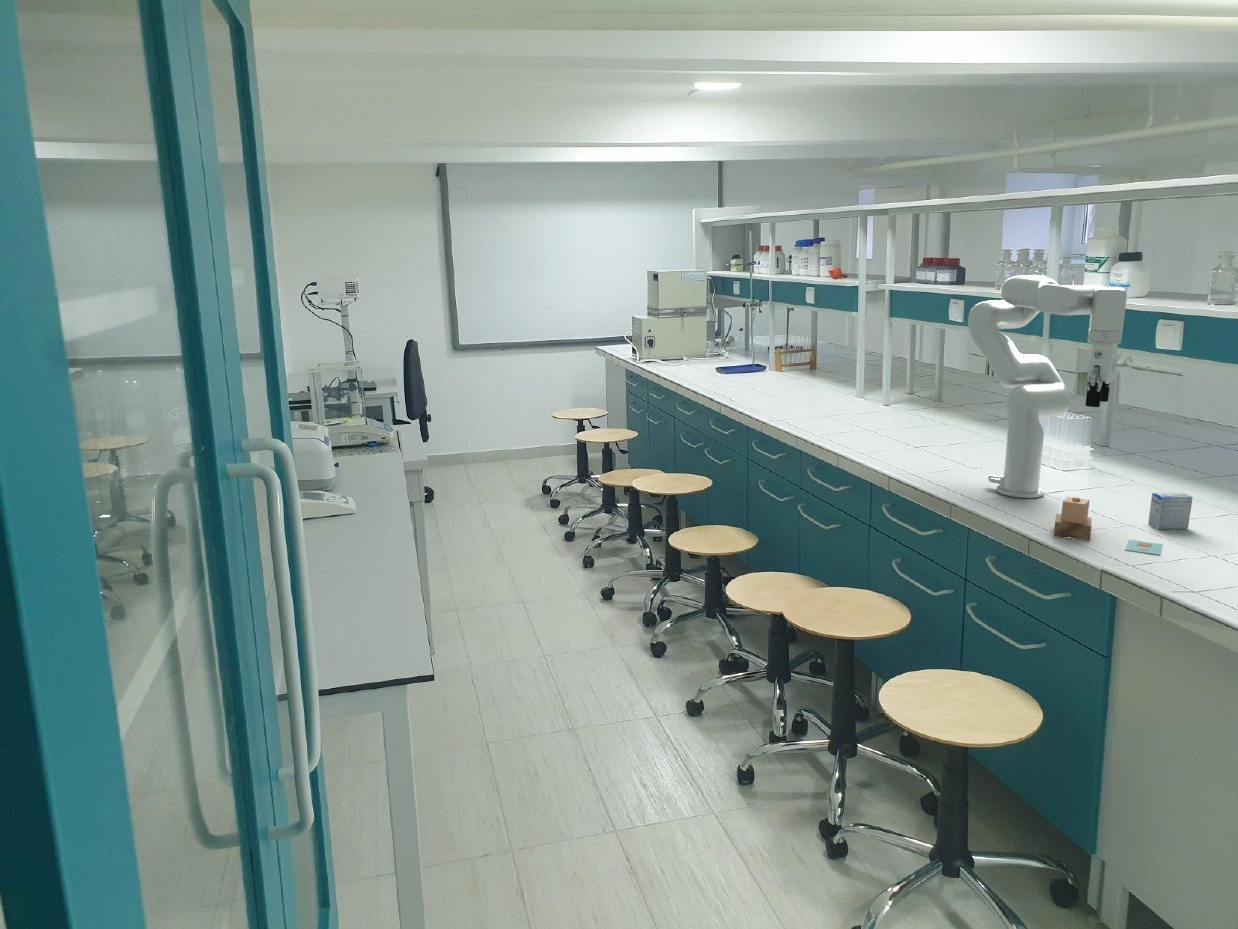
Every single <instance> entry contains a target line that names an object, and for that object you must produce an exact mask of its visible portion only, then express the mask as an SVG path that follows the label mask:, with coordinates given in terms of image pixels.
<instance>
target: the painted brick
mask: <svg viewBox="0 0 1238 929" xmlns="http://www.w3.org/2000/svg"><path fill="white" fill-rule="evenodd" d="M1089 507H1090V499H1085V498H1080V497H1076V496H1073V497H1072V496H1067V497H1066V498H1065V499H1063V500H1062V506H1061V513H1060V514H1061V521H1066V522H1072V523H1079V524H1083V523H1084V522H1085V521H1086V520H1087V518H1088V517H1089V509H1090V508H1089Z"/></svg>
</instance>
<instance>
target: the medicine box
mask: <svg viewBox="0 0 1238 929" xmlns="http://www.w3.org/2000/svg"><path fill="white" fill-rule="evenodd" d="M1192 504H1193V496H1192V495H1189V494H1188V493H1186V492H1182V491H1176V492H1175V491H1171V492H1170V491H1165V492H1153V493H1152V494H1151V500H1150V508H1149V515H1148V523H1147V524H1148V525H1149V526H1151V527H1152V528H1154V529H1156V530H1181V529H1183V530H1184V529H1185V530H1187V529H1189V524H1190V519H1191V518H1190V517H1191V511H1192Z"/></svg>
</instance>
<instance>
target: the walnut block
mask: <svg viewBox="0 0 1238 929" xmlns="http://www.w3.org/2000/svg"><path fill="white" fill-rule="evenodd" d="M1061 514H1062V513H1056V514H1055V522H1054V528H1053V537H1056V536H1057V537H1058V538H1064V537H1071V538H1070V539H1072V538H1075V540H1081V539H1083V540H1084V541H1091V533H1092V527H1093V526H1092V523H1093V522H1092V520H1093V519H1092V517H1089V516H1088V518H1087V520H1086V521H1085V522H1084V523H1083V524H1079V523H1072V522H1066V521H1061Z"/></svg>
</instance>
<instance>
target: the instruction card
mask: <svg viewBox="0 0 1238 929" xmlns="http://www.w3.org/2000/svg"><path fill="white" fill-rule="evenodd" d="M1162 545H1163V544H1162V543H1157V542H1150V541H1143V540H1137V539H1128V541H1127V543H1126V547H1125V549H1124V551H1126V552H1133V551H1134V553H1141V554H1148V555H1154V556H1161V555H1160V554H1161V549H1162Z"/></svg>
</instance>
